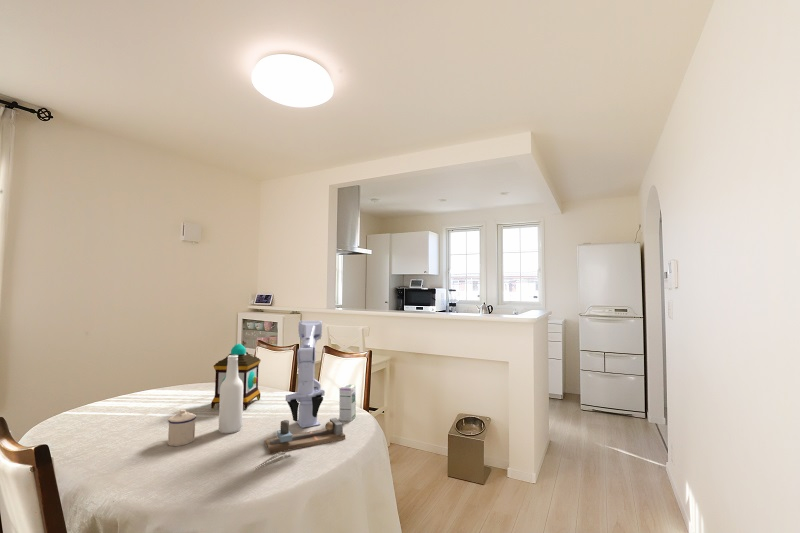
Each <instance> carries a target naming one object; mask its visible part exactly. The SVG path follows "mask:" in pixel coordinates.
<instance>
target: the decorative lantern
mask: <svg viewBox="0 0 800 533" xmlns="http://www.w3.org/2000/svg"><path fill="white" fill-rule="evenodd" d="M230 355H237V356H238V376H239V378H240V379H241V381H242V382H243V410H245V411H246V410H247V409H248V406H249V403H250V402H251V401H252V400H254V399H256V400H257V401H260V400H261V392H260V389H259V365H260V363H261V359H260V358H259V357H257V356H255V355H254V356H253V355H252V354H250V353H249V352H247V350H246V347H245V346H244V345H243V344H241V343H237V344H235V345H234V346H232V348H231V349H230V353H228V354H227V356H225V358H222V359H221V360H218V361H217V362H216V363H215V364H214V365H213V368H214V370H215V378H214V379H215V380H214V382H215V384H214V385H215V386H214V397H213V398H212V400H211V404H210V405H211V409H212V410H214V409H216V404H217V405H218V404H220V387H221V384H222V382H223V381H224V380H225V378H226V372H227V364H228V360H227V359H228V356H230Z"/></svg>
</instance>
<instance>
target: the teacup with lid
mask: <svg viewBox="0 0 800 533" xmlns="http://www.w3.org/2000/svg"><path fill="white" fill-rule="evenodd" d="M196 419H197V416H196V414H195V413H192V412H189V411H187V410H186V409H180V410H179V412H178V413H176V414H174V415H172V416H170V417H169V418H168V435H167V436H168V438H167V439H168V440H167V443H168V446H171V447H181V446H185V445H188V444H190V443H192V442H193V441H194V440H195V434H196V432H195V431H196Z"/></svg>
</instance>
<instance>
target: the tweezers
mask: <svg viewBox="0 0 800 533" xmlns="http://www.w3.org/2000/svg"><path fill="white" fill-rule="evenodd" d="M291 456H292V455H291V454H290V453H288V454H286V451H283V452H277V453H274V454H273V455H272V456H270V457H269V458H268V459H266V460H265V461H263V462H261V463H260V464H258V465H257V466H256V467H257V468H258V469H260V468H262V466H263V467H265V466H268V465H270V464H272V462H273V463H275V461H276V462H278V461H280V460H284V459H286V458H289V457H291ZM269 460H271V461H269ZM267 461H268V462H267ZM264 463H265V464H264ZM262 464H263V465H262ZM267 464H268V465H267ZM260 465H261V466H260ZM264 465H265V466H264ZM258 466H259V467H260V468H259V467H258ZM256 467H254V468H255V470H258V469H257V468H256Z"/></svg>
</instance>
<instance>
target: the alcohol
mask: <svg viewBox="0 0 800 533" xmlns="http://www.w3.org/2000/svg"><path fill="white" fill-rule="evenodd" d="M227 356H228V355H227ZM227 360H228V364H227V372H226V378H225V380H224V381H223V382H222V384H221V387H220V404H219V410H218V431H219V432H220V433H221V434H226V435H227V434H235V433H237V432H239V431H240V430H241V429H242V427H243V414H244V412H243V410H244V404H243V382H242V381H241V379H240V378H239V376H238V356H237V355H230V356H228V359H227Z"/></svg>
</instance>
